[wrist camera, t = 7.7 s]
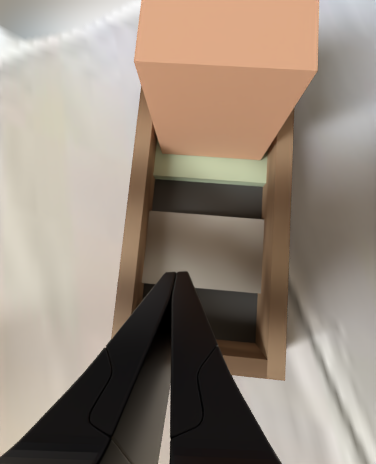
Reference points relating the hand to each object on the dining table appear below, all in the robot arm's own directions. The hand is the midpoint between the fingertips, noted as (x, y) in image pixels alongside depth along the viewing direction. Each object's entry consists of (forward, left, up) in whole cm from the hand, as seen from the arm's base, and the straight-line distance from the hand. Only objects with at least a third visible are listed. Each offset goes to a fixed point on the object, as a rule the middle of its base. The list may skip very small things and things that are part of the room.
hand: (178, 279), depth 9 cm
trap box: (+3, -4, -8) cm, 10 cm away
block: (+7, -8, -7) cm, 13 cm away
